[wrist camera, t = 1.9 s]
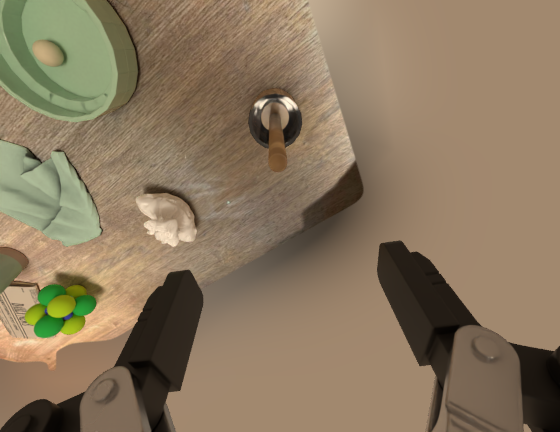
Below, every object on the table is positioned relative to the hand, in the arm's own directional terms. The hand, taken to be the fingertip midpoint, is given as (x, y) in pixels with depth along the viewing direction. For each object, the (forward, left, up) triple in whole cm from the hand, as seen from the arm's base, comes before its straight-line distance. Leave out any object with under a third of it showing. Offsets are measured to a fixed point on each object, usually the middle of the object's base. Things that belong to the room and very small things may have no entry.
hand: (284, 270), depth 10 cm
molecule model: (+52, +30, -32) cm, 68 cm away
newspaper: (+71, +35, -32) cm, 85 cm away
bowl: (+24, -12, -32) cm, 42 cm away
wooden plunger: (0, 0, -31) cm, 31 cm away
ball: (+26, -12, -30) cm, 42 cm away
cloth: (+43, +6, -32) cm, 54 cm away
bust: (+21, +13, -32) cm, 40 cm away
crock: (0, 0, -32) cm, 32 cm away
